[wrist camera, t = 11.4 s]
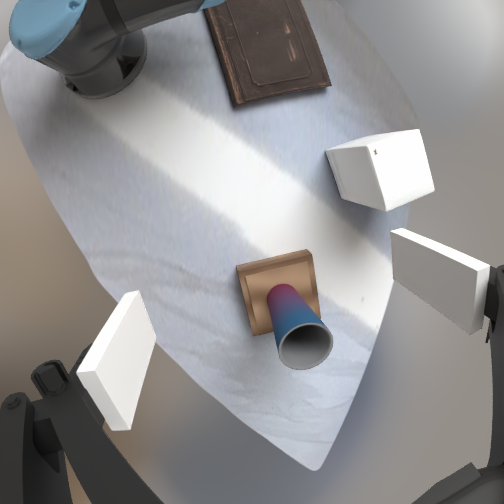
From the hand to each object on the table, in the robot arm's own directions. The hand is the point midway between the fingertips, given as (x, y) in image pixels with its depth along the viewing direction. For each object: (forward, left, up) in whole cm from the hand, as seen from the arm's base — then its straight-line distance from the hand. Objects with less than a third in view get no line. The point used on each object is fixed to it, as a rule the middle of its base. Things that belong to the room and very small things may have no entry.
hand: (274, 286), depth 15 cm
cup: (+16, +4, -32) cm, 36 cm away
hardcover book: (-27, +10, -36) cm, 46 cm away
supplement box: (-2, +21, -35) cm, 41 cm away
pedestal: (+16, +4, -35) cm, 38 cm away
